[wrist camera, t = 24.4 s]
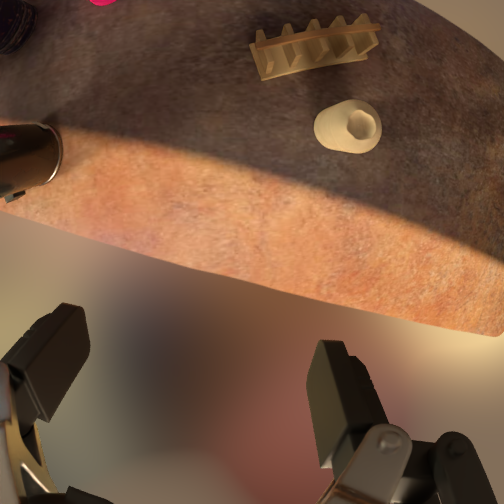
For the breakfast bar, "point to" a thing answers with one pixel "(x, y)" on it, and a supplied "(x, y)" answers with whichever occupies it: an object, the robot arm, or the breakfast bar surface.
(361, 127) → the candle
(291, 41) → the toast rack
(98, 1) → the pepper mill
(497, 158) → the breakfast bar surface
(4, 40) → the storage jar
